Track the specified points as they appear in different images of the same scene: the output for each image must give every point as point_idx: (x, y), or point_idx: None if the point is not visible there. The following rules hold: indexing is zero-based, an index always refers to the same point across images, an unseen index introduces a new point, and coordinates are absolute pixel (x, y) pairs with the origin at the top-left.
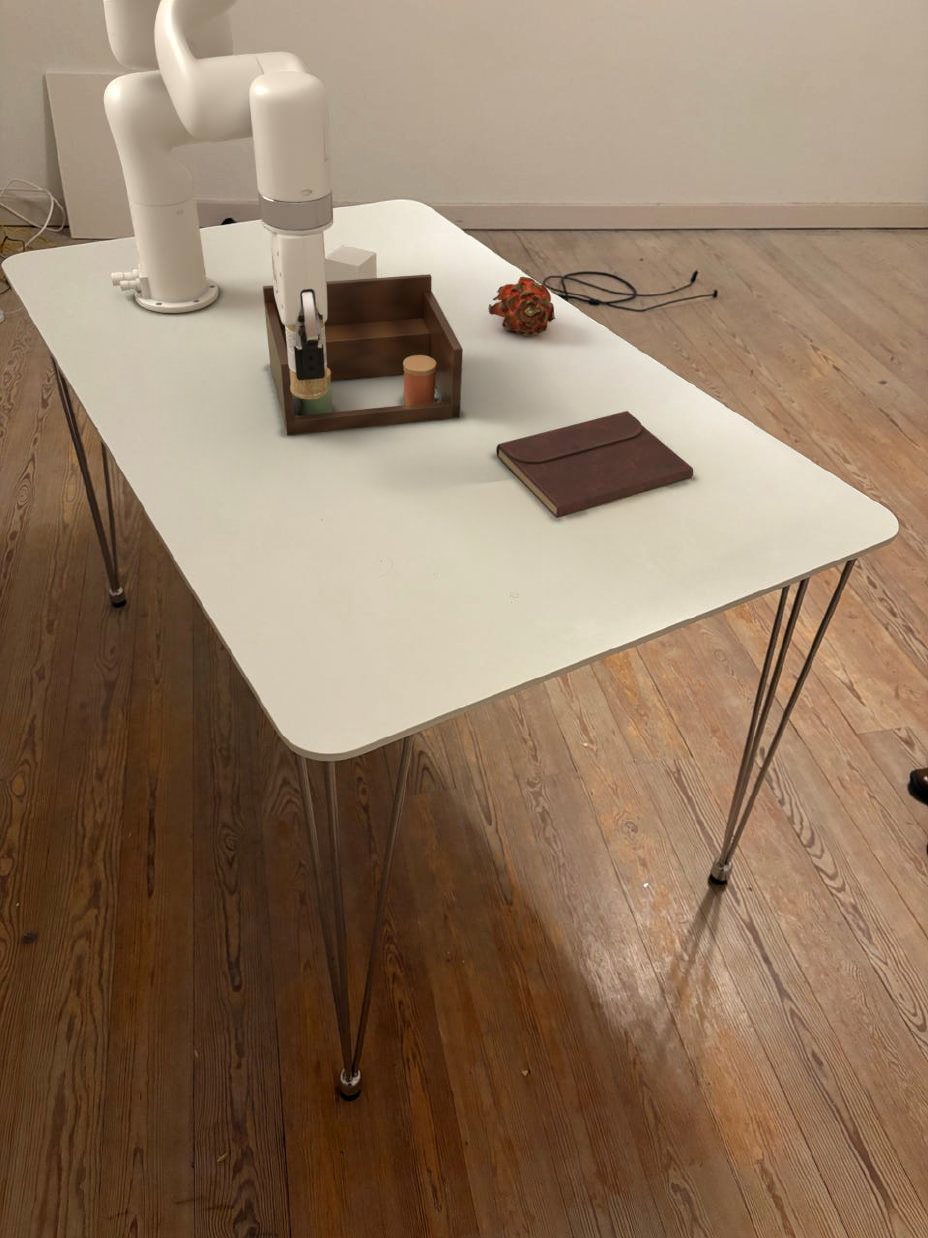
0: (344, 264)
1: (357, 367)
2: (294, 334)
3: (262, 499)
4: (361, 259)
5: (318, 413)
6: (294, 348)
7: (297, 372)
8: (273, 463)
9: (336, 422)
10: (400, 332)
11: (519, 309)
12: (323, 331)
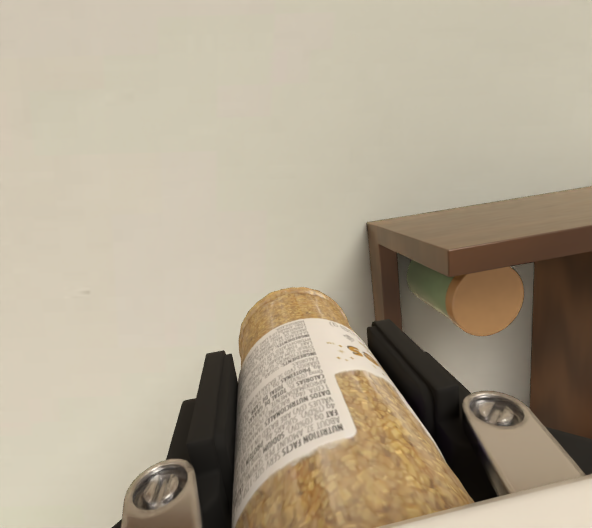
0: None
1: (549, 350)
2: (250, 483)
3: (149, 181)
4: None
5: (414, 282)
6: (191, 440)
7: (203, 369)
8: (273, 199)
9: (379, 315)
10: None
11: None
12: None
